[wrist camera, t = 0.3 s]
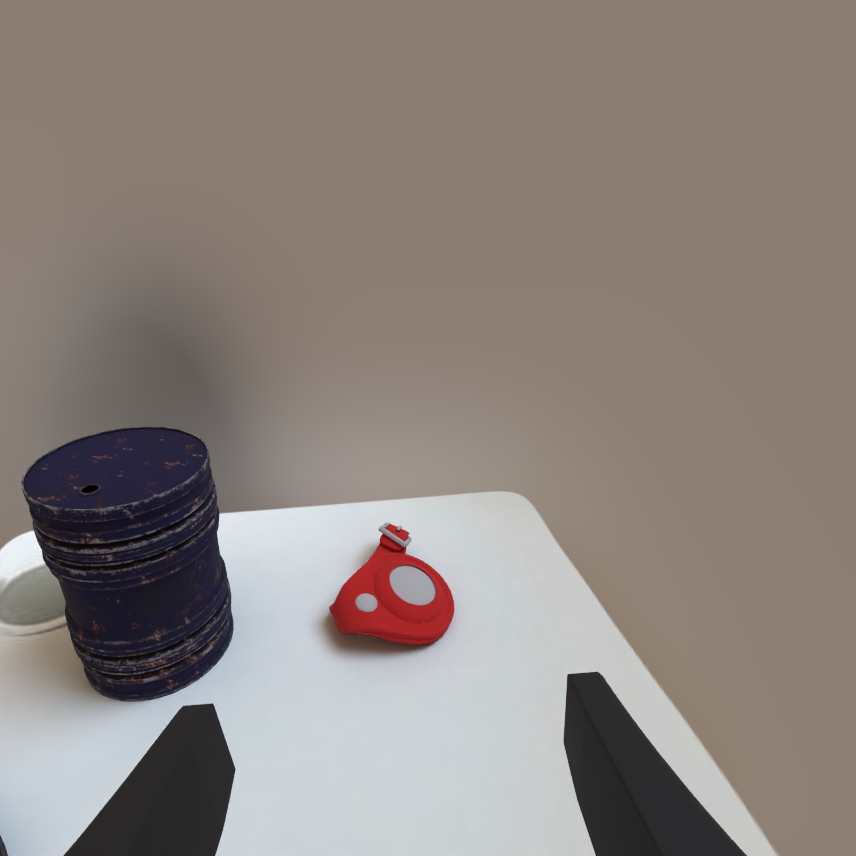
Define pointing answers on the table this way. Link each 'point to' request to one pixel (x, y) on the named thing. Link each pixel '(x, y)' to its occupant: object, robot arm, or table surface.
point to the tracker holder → (395, 595)
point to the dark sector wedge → (2, 848)
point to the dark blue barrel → (135, 556)
